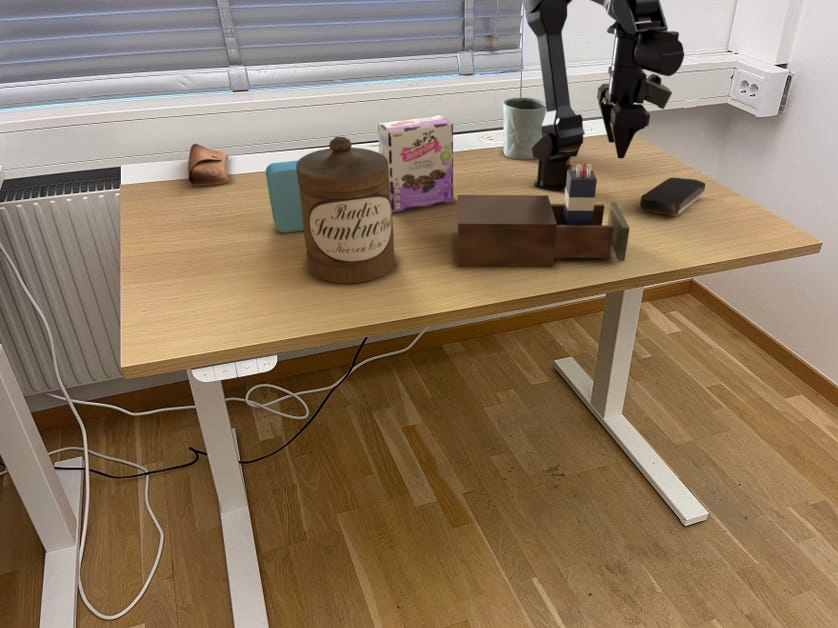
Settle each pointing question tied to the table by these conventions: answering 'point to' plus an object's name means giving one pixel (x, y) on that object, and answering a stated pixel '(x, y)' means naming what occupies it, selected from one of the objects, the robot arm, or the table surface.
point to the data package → (285, 196)
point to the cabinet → (505, 231)
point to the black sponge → (672, 196)
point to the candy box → (418, 161)
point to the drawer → (592, 234)
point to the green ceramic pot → (522, 126)
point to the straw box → (579, 196)
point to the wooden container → (346, 212)
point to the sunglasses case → (207, 166)
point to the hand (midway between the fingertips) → (616, 150)
